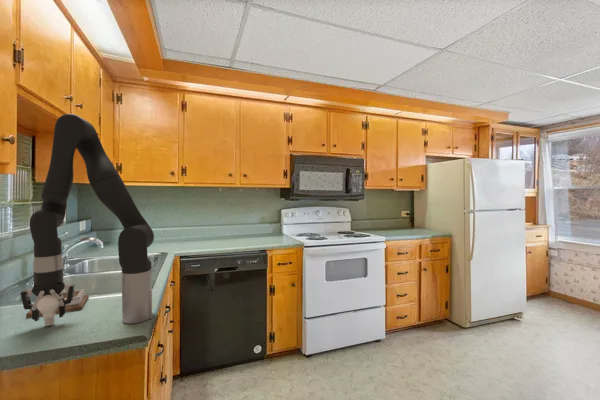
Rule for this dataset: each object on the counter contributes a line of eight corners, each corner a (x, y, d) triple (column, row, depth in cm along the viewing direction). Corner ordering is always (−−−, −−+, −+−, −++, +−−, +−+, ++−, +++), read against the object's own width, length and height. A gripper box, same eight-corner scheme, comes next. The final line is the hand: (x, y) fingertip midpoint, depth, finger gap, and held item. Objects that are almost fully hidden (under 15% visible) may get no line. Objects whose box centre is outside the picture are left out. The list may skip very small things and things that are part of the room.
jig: (88, 297, 123) (88, 287, 122) (81, 309, 110) (81, 298, 110) (39, 304, 115) (39, 293, 115) (26, 318, 103) (25, 305, 103)
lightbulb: (33, 327, 96) (32, 294, 95) (56, 320, 101) (55, 289, 101) (42, 331, 93) (41, 298, 93) (65, 323, 98) (64, 291, 98)
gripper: (15, 274, 90) (16, 327, 90) (72, 268, 97) (73, 318, 97) (24, 268, 97) (25, 318, 97) (77, 263, 103) (78, 310, 104)
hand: (49, 318), depth 97 cm, fingers closed on lightbulb, 5 cm apart
